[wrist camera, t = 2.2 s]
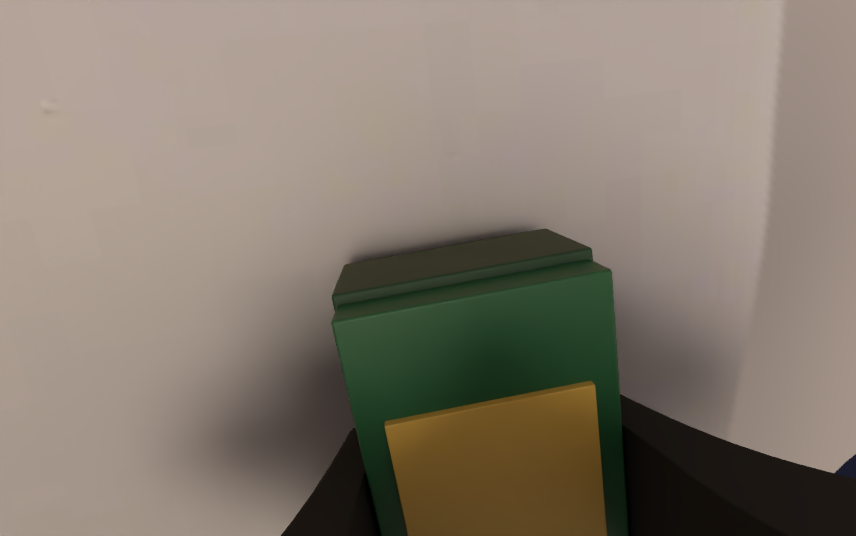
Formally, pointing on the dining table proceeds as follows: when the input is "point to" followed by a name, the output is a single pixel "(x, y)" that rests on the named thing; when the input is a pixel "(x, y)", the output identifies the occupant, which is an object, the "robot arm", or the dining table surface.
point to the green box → (486, 388)
